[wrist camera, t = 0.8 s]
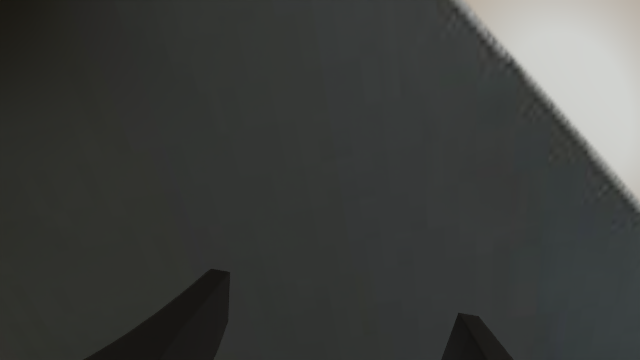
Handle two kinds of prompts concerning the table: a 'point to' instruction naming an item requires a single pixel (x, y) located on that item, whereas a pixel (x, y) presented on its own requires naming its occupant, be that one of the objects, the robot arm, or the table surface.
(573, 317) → the table surface
